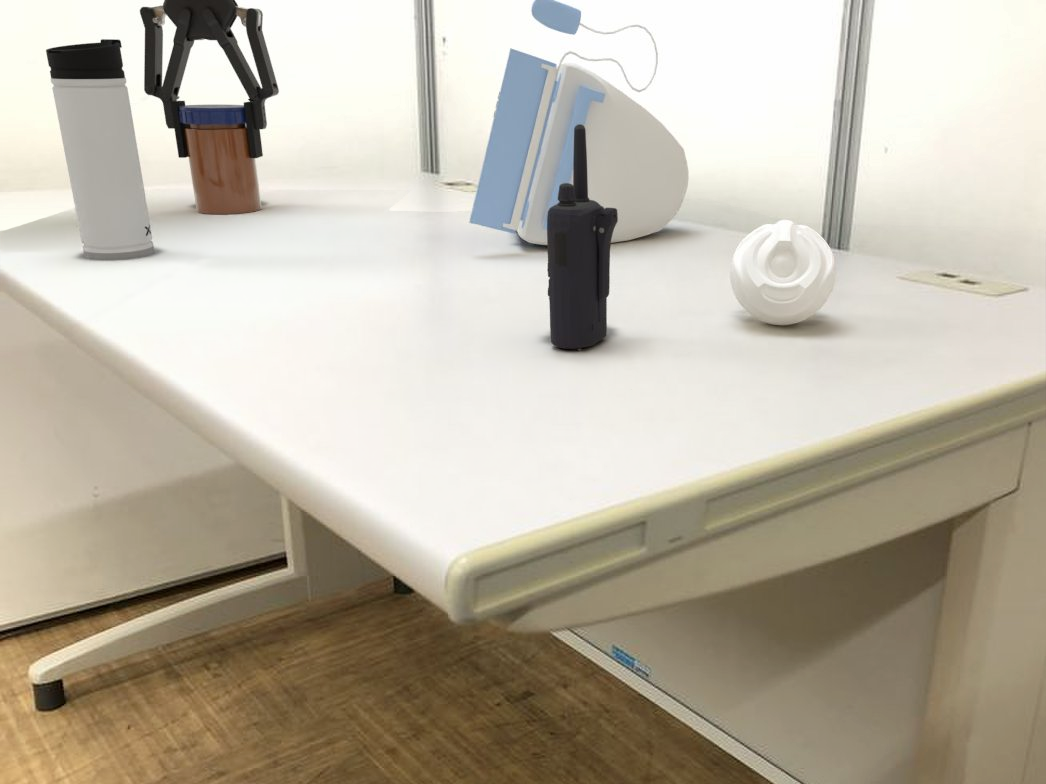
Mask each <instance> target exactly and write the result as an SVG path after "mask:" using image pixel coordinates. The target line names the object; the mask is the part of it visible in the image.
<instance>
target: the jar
mask: <svg viewBox="0 0 1046 784" xmlns="http://www.w3.org/2000/svg"><path fill="white" fill-rule="evenodd" d="M184 130H185V137H186V144H187V150H188V157H187V158H188V164H189V170H190V176H191V182H192V183H191V184H192V190H193V197H194V203H195V210H196V213H200V214H204V215H205V214H206V215H237V214H238V215H239V214H248V213H253V212H257V211H260V210H262V200H261V191H260V183H259V175H258V168H257V160H256V159H257V158H250V151H249V143H248V135H247V127H246V123H245V124H227V125H198V124H188V127H185V128H184Z"/></svg>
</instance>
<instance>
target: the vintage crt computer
mask: <svg viewBox="0 0 1046 784" xmlns="http://www.w3.org/2000/svg"><path fill="white" fill-rule="evenodd" d="M530 11H531V15H532V17H533V19H534V20H536V21H537V22H538V23H539V24H541V25H543V26H544V27H546V28H547V29H551V30H553V31H557V32H558V33H559V32H560V33H564V34H567V35H573V36H574V35H576V34H577V32H578V31H579V27H580V26H581V27H582V28H585V29H586V30H588V31H591V32H593V33H596V34H601V35H612V34H616V33H619V32H621V31H624V30H626V29H628V28H636V27H637V28H639V29H643V30H645V32H646V33H647V34H648V35H649V36H650V39H651V41H652V43H653V46H654V51H655V66H654V70H653V74H652V76H651V79H650V80H649V82H648V83H647V84H646V85H645V87H643V88H640V89H637V88H636V87H633V85H632V84H631V83H630V82H629V79H628V78H627V75H626V73H625V71H624V70H625V69H624V68H623V65H621V64H620V62H619V61H618V60H616V59H614V58H612V57H611V58H588V57H584V56H581V55H580V54H578V53H577V52H575V51H571V50H569V51H567V52H565V53H564V55H563V56H562V57H561V59H560V61H559V63H558V65H557V63H555V62H552V61H549V60H546V59H544V58H542V57H541V58H540V57H539V56H535V55H532V54H529V53H526V52H523V51H520V50H518V49H514V48H512V47H510V48H509V52H508V56H507V59H506V63H505V68H504V73H503V76H502V81H501V85H500V90H499V91H498V96H497V101H496V104H495V109H494V113H493V119H492V124H491V126H490V131H489V136H488V140H487V145H486V149H485V153H484V157H483V162H482V166H481V170H480V174H479V179H478V182H477V187H476V191H475V195H474V199H473V203H472V209H471V212H470V217H469V220H468V223H470V224H473V225H477V226H481V227H485V228H489V229H493V230H497V231H501V232H505V233H506V232H507V233H510V234H515V233H516V232H517V235H518V236H519V237H520V238H521V239H523V241H526V242H527V243H529V244H534V245H535V244H536V245H542V246H547V215H548V211H549V209H550V208H551V207H552V206H554V205H556V204H558V203H559V200H558V193H559V186H560V185H561V184H563V183H570V184H572V185H573V156H574V128H575V126H576V125H578V124H581V125H583V126H584V127H585V131H586V151H587V179H588V198H589V200H594V201H596V202H597V203H599V204H600V206H603V207H604V209H605V208H615V209H617V214H618V221H617V224H616V225H615V228H614V231H613V234H612V239H611V244H612V243H620V242H625V241H632V240H635V239H638V238H642V237H645V236H648V235H652V234H654V233H657V232H660V231H662V230H663V229H664V228H665V227H666V226H667V225H668V224H669V223H670V222H671V221H672V220H673V219H674V217H675V216H676V215H677V214H678V212H679V211H680V209H681V207H682V205H683V203H684V200H685V197H686V194H687V190H688V186H689V167H688V161H687V157H686V152H685V149H684V147H683V146H682V145H681V143H680V142H679V141H678V140H677V139H676V137H675V136H674V135H673V134H672V133H671V132H670V131H669V129H668V128H667V127H666V126H665V124H663V123H662V122H661V121H660V120H659V119H658V118H657V117H656V116H654V115H653V114H652V113H651V112H650V111H648V110H647V109H646V108H645V107H643V106H642V104H640V103H638V102H637V101H635V100H634V99H632V98H631V97H629V96H628V95H627V94H626V93H624V92H623V91H621V90H620V89H618V87H615V85H613V84H611V83H610V82H608V81H607V80H605V79H604V78H603V77H601V76H600V75H598V74H596V73H595V72H594V71H592V70H589V69H587V68H586V67H583V66H581V65H579V64H576V63H567V62H565V63H562V62H563V61H564V60H565V58H566V56H568V55H570V54H571V55H573V56H576V57H578V58H579V59H582V60H584V61H588V62H601V61H610V62H614V63H616V64H617V66H618V67H619V68H620V70H621V72H622V74H623V76H624V77H623V78H624V79H625V81H626V83H627V85H628V86H629V87H630V89H632V91H634V92H637V93H640V92H643V91H645V90H647V89H648V88H649V87H650V85H651V84H652V83H653V80H654V78H655V76H656V72H657V67H658V63H659V60H658V59H659V58H658V56H659V55H658V54H659V53H658V49H657V44H656V41H655V40H654V39H655V38H654V37H653V35H652V33H651V32H650V31H649V30H648V28H646V27H645V26H643V25H640V24H630V25H627V26H623V27H621V28H618V29H616V30H613V31H600V30H595V29H593V28H591V27H588V26H587V25H584V23H582V22H581V19H582V11H581V10H580V9H578V8H576V7H574V6H572V5H569V4H566V3H562V2H560V1H558V0H533V3H532V5H531V10H530Z"/></svg>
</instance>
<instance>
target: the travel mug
mask: <svg viewBox="0 0 1046 784" xmlns="http://www.w3.org/2000/svg"><path fill="white" fill-rule="evenodd" d="M122 48H123V46H122V42H121V39H114V38H113V39H111V38H110V39H108V38H105V39H104V38H103V39H100V42H89V43H88V42H87V43H77V44H67V45H60V46H55V47H49V48H47V49H45V53H46V58H47V63H48V67H49V68H50V70H49V74H50V83H51V85H53V86H52V88H51V89H52V94H53V98H54V104H55V109H56V114H57V120H58V124H59V131H60V135H61V141H62V146H63V152H64V157H65V162H66V166H67V172H68V177H69V183H70V187H71V192H72V193H71V194H72V199H73V202H74V203H73V205H74V209H75V215H76V219H77V225H78V231H79V235H80V240H81V243H82V244H83V246H82V251H83V256H84V258H85V259H89V260H93V261H94V260H95V261H120V260H121V261H122V260H131V259H138V258H143V257H149V256H151V255H153V254H155V246H154V241H152V240H153V234H152V228H151V221H150V215H149V209H148V204H147V197H146V191H145V186H144V180H143V179H144V178H143V174H142V168H141V161H140V155H139V150H138V143H137V137H136V132H135V125H134V124H135V123H134V120H133V113H132V107H131V101H130V96H129V90H128V86H127V85H126V84H127V78H126V75H125V74H126V73H125V70H124V69H123V67H124V63H123V57H122V51H121V49H122Z"/></svg>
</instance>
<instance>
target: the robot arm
mask: <svg viewBox="0 0 1046 784" xmlns="http://www.w3.org/2000/svg"><path fill="white" fill-rule="evenodd" d="M139 14H140V15H139V16H140V18H141V20H142V23H143V27H144V67H143V69H144V71H143V72H144V73H143V78H144V79H143V89H144V90H143V91H144V92H145V94H146V95H148V96H152V97H155V98H158V99H160V101H161V102H162V106H163V107H162V108H163V113H164V120H165V125H166V127H167V128H168V129H174V135H175V136H174V137H175V143H176V147H177V155H178V158H179V159H184V158H185V159H186V158H189V157H188V150H187V144H186V137H185V130H184V128H185V127H188V124H183V123H181V122H180V117H179V106H184V105H186V101H185V100H179V99H180V96H179V93H180V90H181V86H182V82H183V78H184V75H185V71H186V68H187V64H188V61H189V58H190V53H191V49H192V47H193V46H194V44H195V42H196V41H203V40H204V41H205V40H207V41H216V42H217V44H218V46H219V47H220V48H221V49H222V51H223V52H224V55H225V56H226V59H227V60H228V61H229V64H230V65H231V68H232V69H233V71H234V72H235V74H236V76H237V78H238V80H239V82H240V84H241V85H242V87H243V89H244V91H245V93H246V95H247V96H248V99H247V100H248V101H244V102H243V105H244V111H245V119H246V127H247V135H248V143H249V151H250V158H255V159H259V158H261V157H263V156H264V153H263V145H262V136H261V130H265V129H267V126H268V121H267V113H266V112H267V111H266V105H265V104H266V101H267V100H268V99H270V98H272V97H275V96H277V95H279V92H280V89H279V86H278V82H277V79H276V75H275V71H274V68H273V64H272V60H271V57H270V54H269V50H268V46H267V43H266V40H265V36H264V32H263V18H264V17H263V16H264V14H263V11H262V10H261V9H260V8H253V7H249V8H247V7H243V6H239V5H238V3H237V1H236V0H163V3H162V5H157V6H156V5H155V6H141V7H140V8H139ZM166 16H167V17H168V19H169V20H170V21H171V23H172V24H173V25H174V26H175V27H176V29H175V32H174V36H173V39H172V42H173V45H172V50H171V52H170V57H169V61H168V64H167V67H166V72H165V74H164V75H165V76H164V78H163V59H164V58H163V56H164V55H163V54H164V51H163V50H164V30H163V26H164V25H165V24H166ZM237 18H239V19H240V23H241V24H242V26H243V27H244V28H245V31H246V35H247V39H248V43H249V46H250V50H251V54H252V56H253V60H254V65H255V67H256V71H257V74H258V78H259V81H260V83H259V81H258V79H257V78H256V76H255V73H254V72H253V69H251V67H250V64H249V62H248V61H247V59H246V57H245V56H244V53H243V51H242V50H241V48H240V45H239V43H238V40H237V37H236V36H235V33H234V32H233V31H232V29H231V28H232V27H233V25H234V23H235V21H236V19H237Z"/></svg>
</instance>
